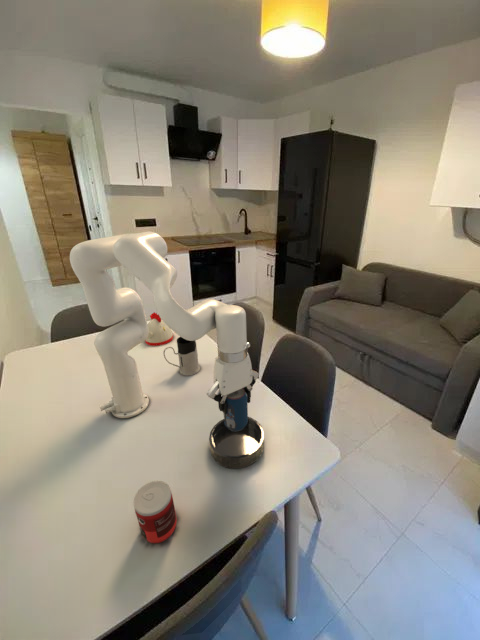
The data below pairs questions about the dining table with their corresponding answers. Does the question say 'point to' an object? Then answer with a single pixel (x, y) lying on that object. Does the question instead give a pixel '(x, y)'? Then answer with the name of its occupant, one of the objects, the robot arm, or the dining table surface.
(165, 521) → the canned food
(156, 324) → the kitchen timer
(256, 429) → the bowl
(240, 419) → the soda can
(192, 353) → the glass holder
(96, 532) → the dining table surface
